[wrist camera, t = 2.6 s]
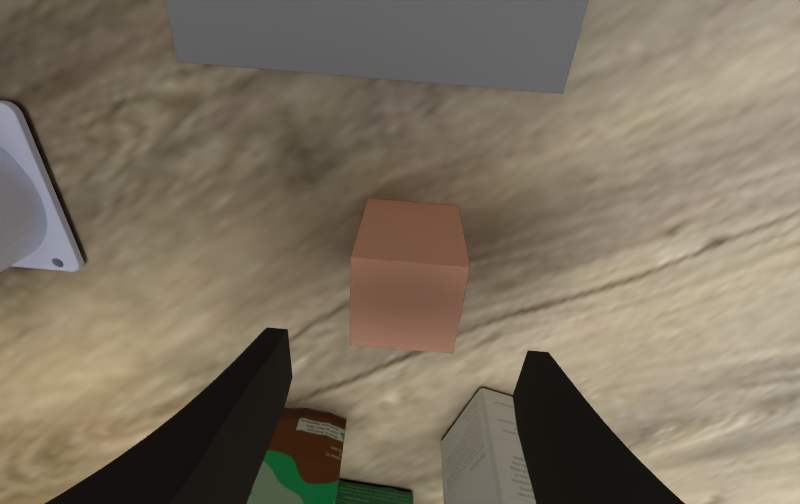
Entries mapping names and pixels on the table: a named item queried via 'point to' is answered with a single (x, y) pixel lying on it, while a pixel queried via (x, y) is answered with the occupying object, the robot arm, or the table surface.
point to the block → (408, 276)
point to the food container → (301, 460)
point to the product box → (485, 455)
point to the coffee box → (370, 494)
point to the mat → (388, 38)
